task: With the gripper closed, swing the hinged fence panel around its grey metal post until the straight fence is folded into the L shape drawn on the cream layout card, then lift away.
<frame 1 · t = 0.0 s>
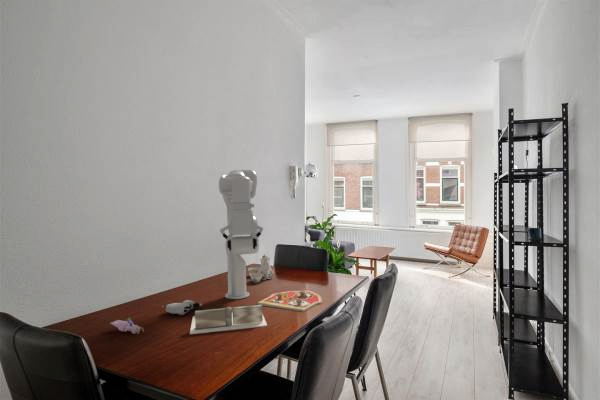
hand: (242, 249, 143), 31 cm above the table, tool pointing down, fingers open, 9 cm apart
fence base: (229, 326, 143), resting on layout card
layout card: (228, 321, 149), on the table
knob puzzle: (295, 301, 178), on the table
chinaware: (260, 279, 226), on the table
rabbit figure: (126, 332, 140), on the table
fence panel: (247, 314, 145), point 4 cm above the table, hinge at 0.0°
robot toy: (183, 312, 164), on the table
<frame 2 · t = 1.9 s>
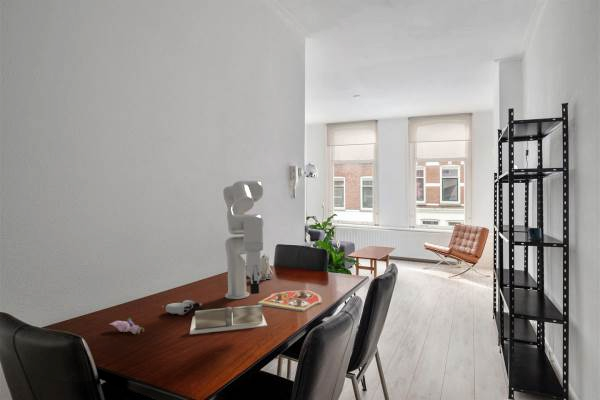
hand: (254, 293, 139), 14 cm above the table, tool pointing down, fingers closed
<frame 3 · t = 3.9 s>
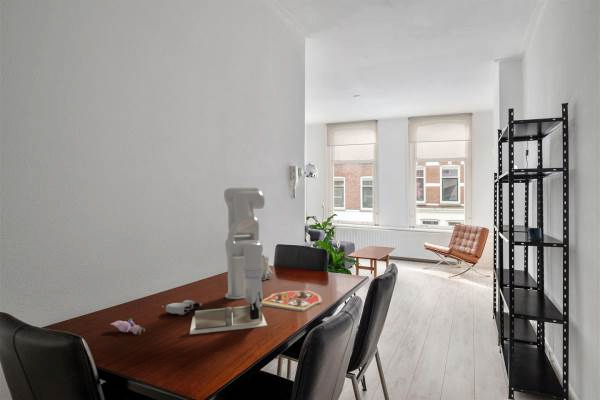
hand: (254, 318, 142), 3 cm above the table, tool pointing down, fingers closed
fence panel: (247, 314, 145), point 4 cm above the table, hinge at 0.8°, touching gripper
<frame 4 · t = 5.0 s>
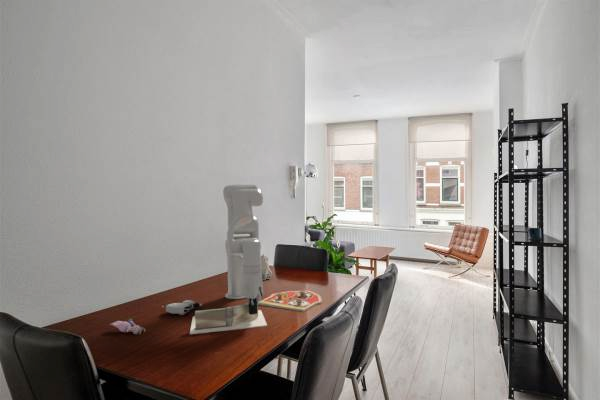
hand: (253, 313, 147), 4 cm above the table, tool pointing down, fingers closed
fence panel: (245, 312, 148), point 4 cm above the table, hinge at 25.9°, touching gripper
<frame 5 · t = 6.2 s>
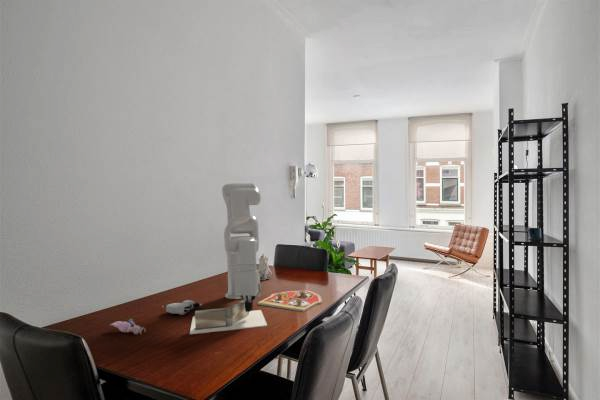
hand: (248, 310, 150), 4 cm above the table, tool pointing down, fingers closed
fence panel: (239, 310, 150), point 4 cm above the table, hinge at 51.1°, touching gripper
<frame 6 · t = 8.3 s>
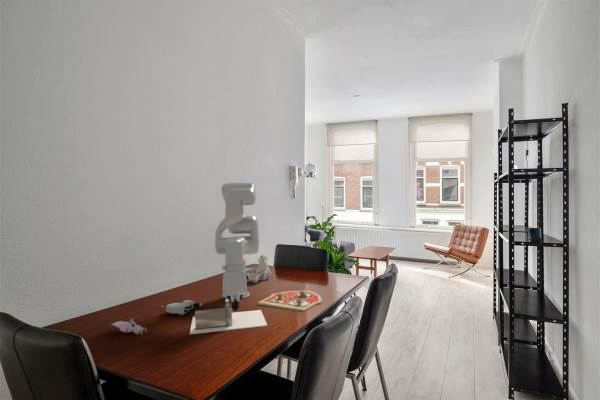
hand: (235, 310, 153), 4 cm above the table, tool pointing down, fingers closed
fence panel: (227, 310, 150), point 4 cm above the table, hinge at 90.9°
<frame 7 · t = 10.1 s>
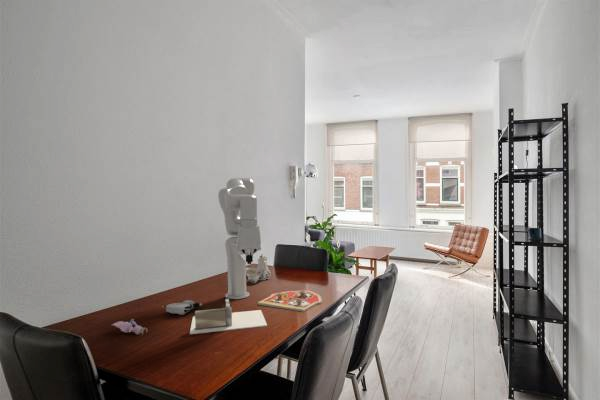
hand: (249, 263, 158), 22 cm above the table, tool pointing down, fingers closed
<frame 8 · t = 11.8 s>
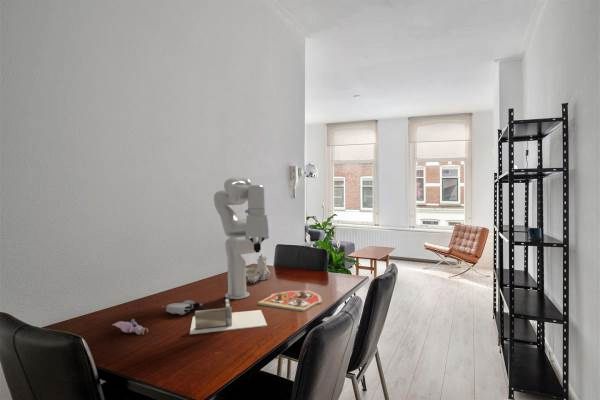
hand: (257, 252, 162), 27 cm above the table, tool pointing down, fingers closed
at the end: fence panel at +91° (first picture: +0°) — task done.
